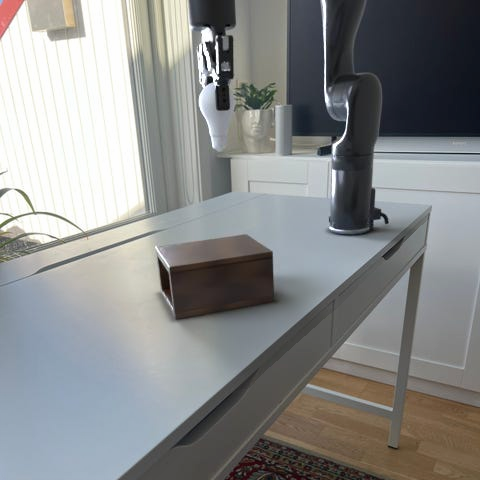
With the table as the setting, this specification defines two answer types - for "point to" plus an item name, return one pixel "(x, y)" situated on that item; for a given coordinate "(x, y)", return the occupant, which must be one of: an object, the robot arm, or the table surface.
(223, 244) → the shelf
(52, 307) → the table surface
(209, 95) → the lightbulb
